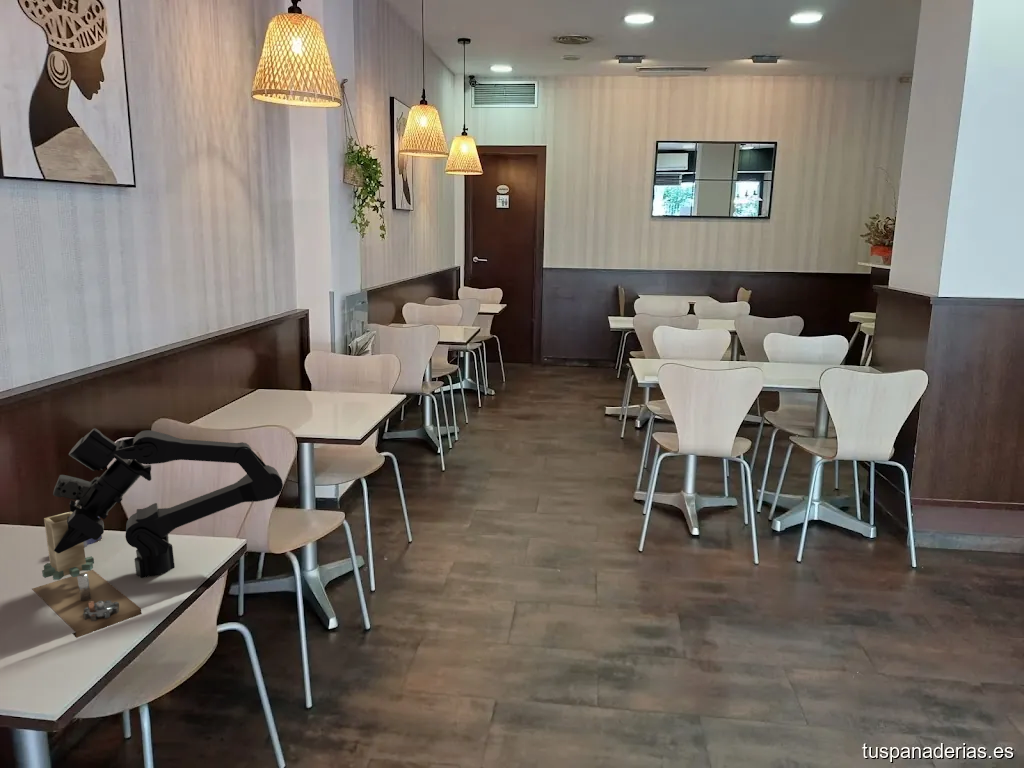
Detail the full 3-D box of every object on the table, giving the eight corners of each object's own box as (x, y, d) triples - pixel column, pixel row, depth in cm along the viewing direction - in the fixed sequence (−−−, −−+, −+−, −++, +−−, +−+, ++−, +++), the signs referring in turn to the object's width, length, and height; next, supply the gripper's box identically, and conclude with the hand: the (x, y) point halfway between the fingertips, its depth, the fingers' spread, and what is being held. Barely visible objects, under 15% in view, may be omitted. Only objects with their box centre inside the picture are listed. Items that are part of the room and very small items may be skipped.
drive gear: (112, 602, 146) (110, 588, 145) (124, 612, 142) (122, 598, 141) (78, 613, 142) (76, 600, 141) (90, 624, 138) (88, 610, 137)
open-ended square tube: (85, 556, 158) (79, 506, 156) (101, 569, 152) (94, 517, 150) (36, 570, 152) (29, 518, 149) (50, 584, 146) (43, 530, 143)
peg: (89, 595, 148) (85, 572, 147) (92, 598, 147) (89, 574, 146) (79, 599, 147) (75, 575, 146) (82, 602, 146) (79, 578, 145)
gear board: (93, 575, 160) (92, 569, 160) (141, 614, 143) (140, 608, 143) (32, 594, 152) (32, 588, 152) (76, 637, 135) (75, 631, 135)
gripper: (79, 449, 157) (24, 508, 154) (75, 474, 141) (13, 541, 138) (126, 479, 162) (73, 537, 160) (127, 507, 146) (68, 572, 143)
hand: (57, 545), depth 150 cm, fingers closed on open-ended square tube, 6 cm apart
